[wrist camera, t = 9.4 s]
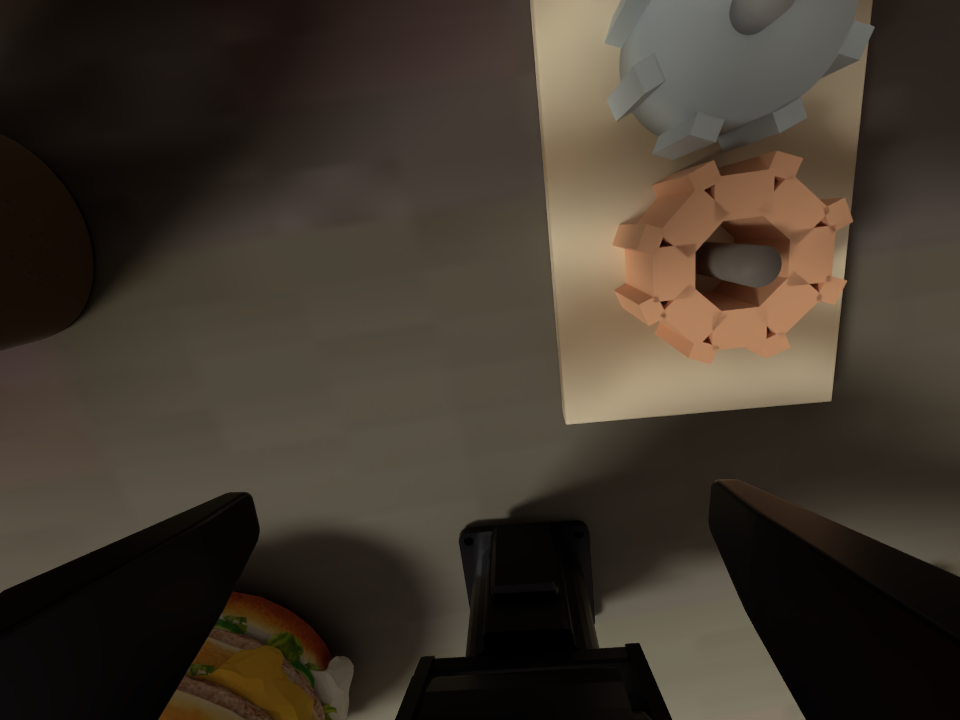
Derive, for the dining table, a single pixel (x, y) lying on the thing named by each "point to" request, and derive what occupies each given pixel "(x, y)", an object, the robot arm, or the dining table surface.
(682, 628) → the dining table surface
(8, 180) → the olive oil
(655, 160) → the gear board
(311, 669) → the burger
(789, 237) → the gear
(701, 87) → the gear
